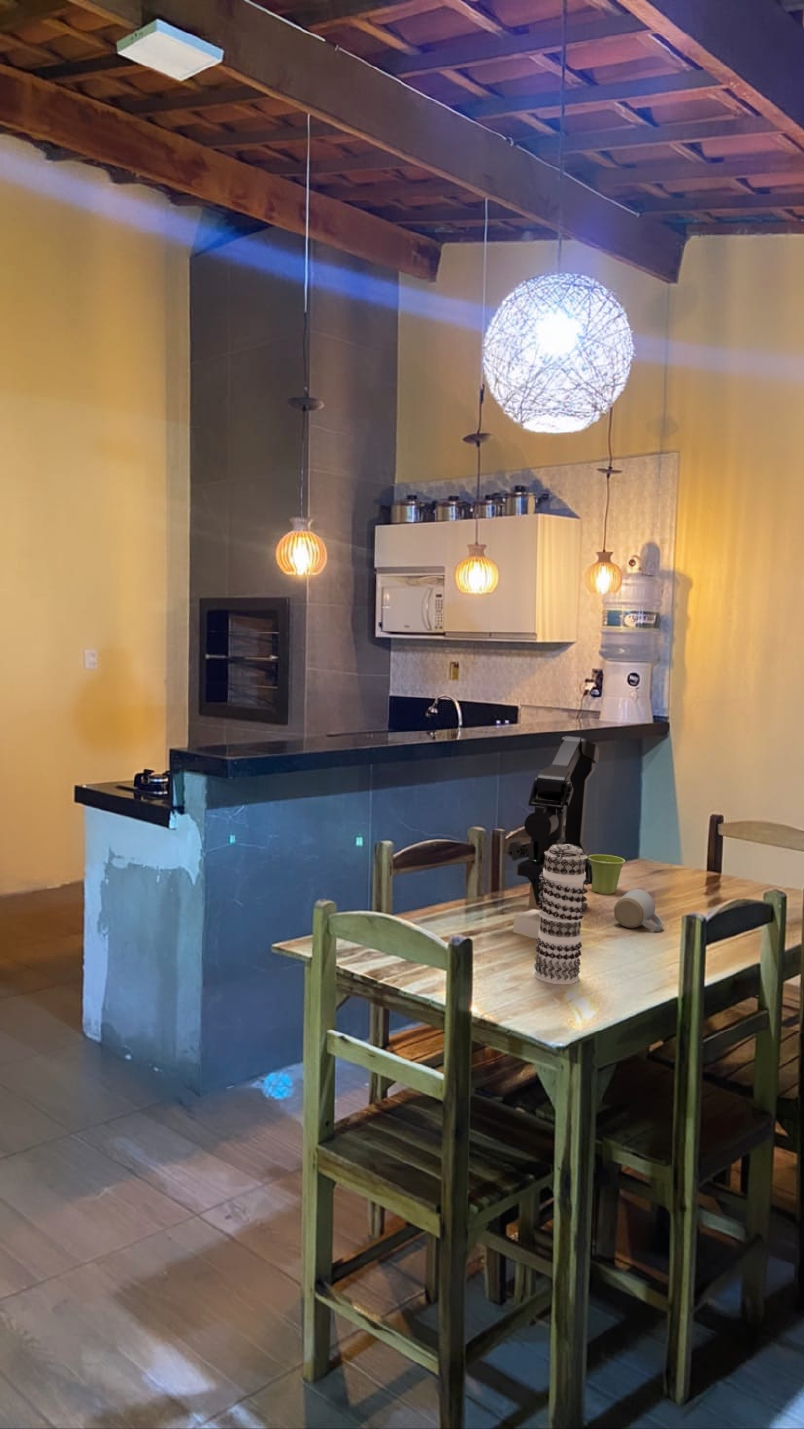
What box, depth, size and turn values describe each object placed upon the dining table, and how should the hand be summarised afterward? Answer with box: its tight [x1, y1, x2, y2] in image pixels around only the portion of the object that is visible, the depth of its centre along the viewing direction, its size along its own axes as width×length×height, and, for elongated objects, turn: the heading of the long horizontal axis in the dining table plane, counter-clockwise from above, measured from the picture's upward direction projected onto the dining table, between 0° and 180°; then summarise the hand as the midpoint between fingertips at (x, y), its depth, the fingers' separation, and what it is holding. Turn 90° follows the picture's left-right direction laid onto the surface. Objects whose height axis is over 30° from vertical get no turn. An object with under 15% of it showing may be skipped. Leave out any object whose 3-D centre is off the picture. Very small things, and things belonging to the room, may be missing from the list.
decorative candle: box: [533, 844, 589, 986], centre depth 192 cm, size 9×9×25 cm
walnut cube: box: [528, 884, 541, 910], centre depth 221 cm, size 5×5×5 cm
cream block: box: [512, 909, 541, 939], centre depth 221 cm, size 9×9×4 cm
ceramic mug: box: [613, 888, 664, 932], centre depth 231 cm, size 11×8×8 cm
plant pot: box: [589, 854, 626, 895], centre depth 262 cm, size 9×9×9 cm
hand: (544, 903), depth 221 cm, fingers closed on walnut cube, 5 cm apart
